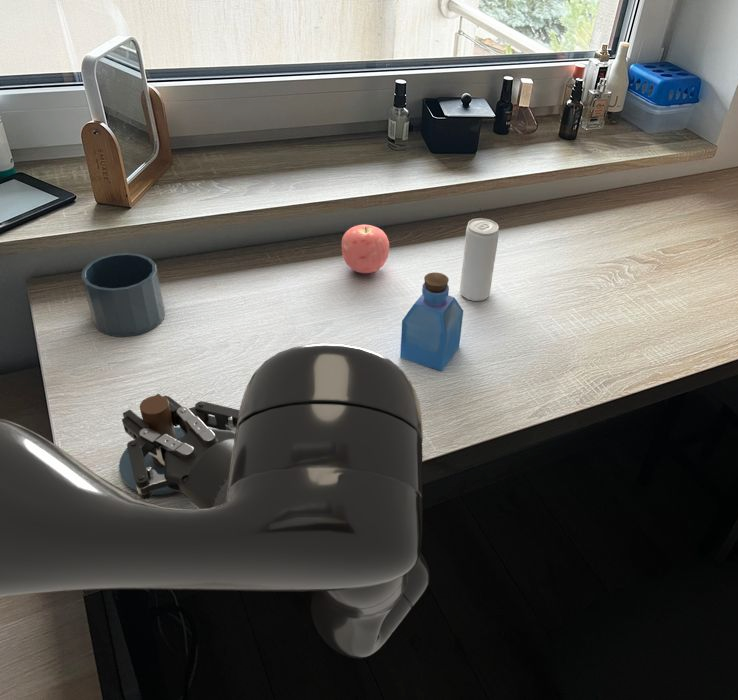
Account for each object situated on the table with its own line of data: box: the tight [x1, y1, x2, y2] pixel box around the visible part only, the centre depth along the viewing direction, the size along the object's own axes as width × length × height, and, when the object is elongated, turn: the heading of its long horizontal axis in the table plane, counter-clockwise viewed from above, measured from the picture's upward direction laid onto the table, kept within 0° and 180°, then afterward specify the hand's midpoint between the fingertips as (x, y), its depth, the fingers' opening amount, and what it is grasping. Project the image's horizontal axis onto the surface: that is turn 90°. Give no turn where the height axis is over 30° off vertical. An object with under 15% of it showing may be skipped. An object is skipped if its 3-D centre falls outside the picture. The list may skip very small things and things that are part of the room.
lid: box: [118, 395, 185, 496], centre depth 77 cm, size 10×10×9 cm
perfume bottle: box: [399, 272, 464, 372], centre depth 97 cm, size 6×6×12 cm
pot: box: [81, 252, 166, 338], centre depth 97 cm, size 9×9×8 cm
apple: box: [341, 224, 390, 274], centre depth 112 cm, size 7×7×8 cm
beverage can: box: [459, 217, 500, 302], centre depth 109 cm, size 5×5×12 cm
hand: (141, 409), depth 77 cm, fingers closed on lid, 3 cm apart
